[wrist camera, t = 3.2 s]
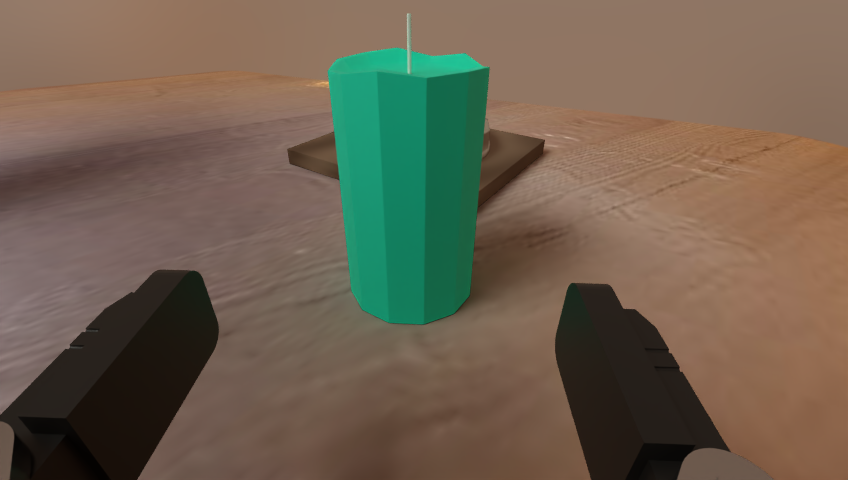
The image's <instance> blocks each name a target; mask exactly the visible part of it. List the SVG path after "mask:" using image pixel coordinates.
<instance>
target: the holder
mask: <svg viewBox="0 0 848 480" xmlns="http://www.w3.org/2000/svg"><path fill="white" fill-rule="evenodd" d="M544 142H545V140H543V139H538V138H533V137H528V136H523V135H518V134H513V133H508V132H504V131H499V130H494V129H490V128H489V123H488V119H486V118H485V127H484V138H483V150H482V161H481V173H480V184H479V196H478V207H479V206H480V205H481V204H483V203H484V202H485V201H486V200H487V199H489V198H490V197H491V196H492V195H493V194H495V193H496V192H497V191H498V190H499V189H501V188H502V187H503V186H504V185H505V184H507V183H508V182H509V181H510V180H511V179H513V178H514V177H515V176H516V175H517V174H519V173H520V172H521V171H522V170H523V169H525V168H526V167H527V166H528V165H529V164H531V163H532V162H533V161H534V160H535V159H537V158H538V157H539V156H540V155H541V154H543V148H544ZM287 150H288V156H289V162H290V164H293V165H296V166H299V167H302V168H305V169H308V170H311V171H315V172H318V173H321V174H324V175H327V176H330V177H333V178H336V179H339V171H338V161H337V152H336V143H335V134H334V132H332V133H329V134H327V135H324V136H321V137H319V138H316V139H313V140H310V141H308V142H305V143H302V144H300V145H297V146H294V147H292V148H289V149H287ZM478 207H477V208H478Z"/></svg>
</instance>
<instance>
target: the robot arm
mask: <svg viewBox="0 0 848 480" xmlns="http://www.w3.org/2000/svg"><path fill="white" fill-rule="evenodd" d="M218 334H219V327H218V321H217V318H216V315H215V313H214V310H213V307H212V304H211V301H210V298H209V295H208V292H207V289H206V287H205V284H204V281H203V278H202V276H201V275H200V274H199V273H198V272H197V271H187V270H157V271H155V272H154V273H153V274H152V275H151V276H150V277H149V278H148V279H147V280H146V281H145V282H144V283H143V284H142V285H141V286H140V287H139V288H138V289H137V290H136V291H135V293H133V292H131V293H129V294H128V295H126V296H125V297H123V298H122V299H120V300H118V301H117V302H115V303H114V304H112V305H110V306H109V307H107V308H106V309H104V310H103V311H102V313H101V314H100V315H99V316H98V317H97V318H96V319H95V320H94V321H93V322H92V323H91V324H90V325H89V326H88V327H87V328H86V332H82V333H81V334H80V335H79V336H78V337H77V338H76V339H75V340H74V341H73V342H72V343H71V344H70V348H69V349H65V350H64V351H63V352H62V353H61V354H60V355H59V356H58V357H57V358H56V359H55V360H54V361H53V362H52V363H51V364H50V365H49V366H48V367H47V368H46V369H45V370H44V371H43V372H42V373H41V374H40V375H39V376H38V377H37V378H36V379H35V380H34V381H33V382H32V383H31V385H30V386H29V387H28V388H27V389H26V390H25V391H24V392H23V393H22V394H21V395H20V396H19V397H18V398H17V399H16V400H15V401H14V402H13V403H12V404H11V405H10V406H9V407H8V408H7V409H6V410H5V411H4V412H3V413H2V414H1V415H0V480H137V479H138V477H139V476H140V474H141V472H142V470H143V469H144V467H145V465H146V464H147V462H148V460H149V459H150V457H151V455H152V454H153V452H154V450H155V449H156V447H157V445H158V444H159V442H160V440H161V439H162V437H163V435H164V433H165V432H166V430H167V428H168V427H169V425H170V423H171V422H172V420H173V418H174V417H175V415H176V413H177V412H178V410H179V408H180V407H181V405H182V403H183V402H184V400H185V398H186V396H187V395H188V393H189V391H190V390H191V388H192V386H193V385H194V383H195V381H196V380H197V378H198V376H199V375H200V373H201V371H202V370H203V368H204V366H205V365H206V363H207V361H208V359H209V358H210V356H211V354H212V353H213V351H214V349H215V347H216V344H217V340H218ZM555 353H556V360H557V364H558V368H559V371H560V375H561V378H562V381H563V385H564V388H565V392H566V395H567V399H568V402H569V405H570V409H571V412H572V416H573V419H574V422H575V426H576V429H577V433H578V436H579V439H580V443H581V446H582V450H583V453H584V457H585V460H586V463H587V467H588V470H589V474H590V477H591V480H774V479H773V478H772V477H770V476H769V475H768V474H767V473H766V472H765V471H763V470H762V469H761V468H759V467H758V466H756V465H755V464H753V463H752V462H750V461H748V460H747V459H745V458H743V457H741V456H739V455H737V454H734V453H731V451H730V450H729V449H728V447H727V446H726V444H725V442H724V441H723V439H722V437H721V436H720V434H719V432H718V431H717V429H716V427H715V426H714V424H713V422H712V421H711V419H710V417H709V416H708V414H707V412H706V411H705V409H704V407H703V406H702V404H701V402H700V401H699V399H698V397H697V396H696V394H695V392H694V390H693V389H692V387H691V385H690V384H689V382H688V380H687V379H686V377H685V375H684V374H683V372H680V370H679V368H680V367H679V365H678V364H677V362H676V360H675V359H674V357H673V355H672V354H671V353H669V349H668V347H667V345H666V344H665V342H664V340H663V339H662V337H661V335H660V334H659V332H658V330H657V328H656V327H655V326H654V325H652V324H651V323H650V322H649V321H648V320H647V319H646V318H644V317H643V316H642V315H641V314H640V313H639V312H638V311H636V310H635V309H623V307H622V306H621V304H620V302H619V300H618V298H617V296H616V294H615V292H614V291H613V289H612V287H611V286H610V285H608V284H586V283H571V284H570V285H569V287H568V290H567V293H566V297H565V301H564V305H563V309H562V313H561V317H560V321H559V325H558V329H557V333H556V339H555Z"/></svg>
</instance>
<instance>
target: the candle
mask: <svg viewBox="0 0 848 480" xmlns="http://www.w3.org/2000/svg"><path fill="white" fill-rule="evenodd" d="M328 77H329V87H330V97H331V106H332V115H333V124H334V134H335V143H336V152H337V161H338V171H339V180H340V189H341V198H342V208H343V217H344V226H345V235H346V245H347V254H348V263H349V272H350V282H351V291H352V292H353V294H354V296H355V298H356V300H357V301H358V303H359V305H360V307H361V308H362V310H364V311H366V312H368V313H370V314H372V315H374V316H376V317H378V318H380V319H382V320H384V321H386V322H388V323H402V324H427V323H429V322H432V321H435V320H438V319H441V318H444V317H446V316H449V315H452V314H454V313H455V312H456V311H457V310H458V309H459V307H460V306H461V305H462V304H463V303H464V302H465V301H466V299H467V298H468V297H469V296H470V288H471V276H472V265H473V253H474V242H475V230H476V219H477V207H478V196H479V184H480V173H481V161H482V150H483V138H484V127H485V115H486V104H487V92H488V81H489V67H483V66H482V65H480V64H479V63H478V62H476V61H475V60H474V59H472V58H471V57H469V56H468V55H467V54H466V53H463V54H453V55H442V56H430V55H426V54H422V53H417V52H413V51H411V14H407V50H405V49H401V48H391V49H384V50H377V51H371V52H364V53H360V54H356V55H351V56H347V57H343V58H340V59H337V60H336V61H335V62H334V63H333V65H332V66H331V67H330V68H329V70H328Z"/></svg>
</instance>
